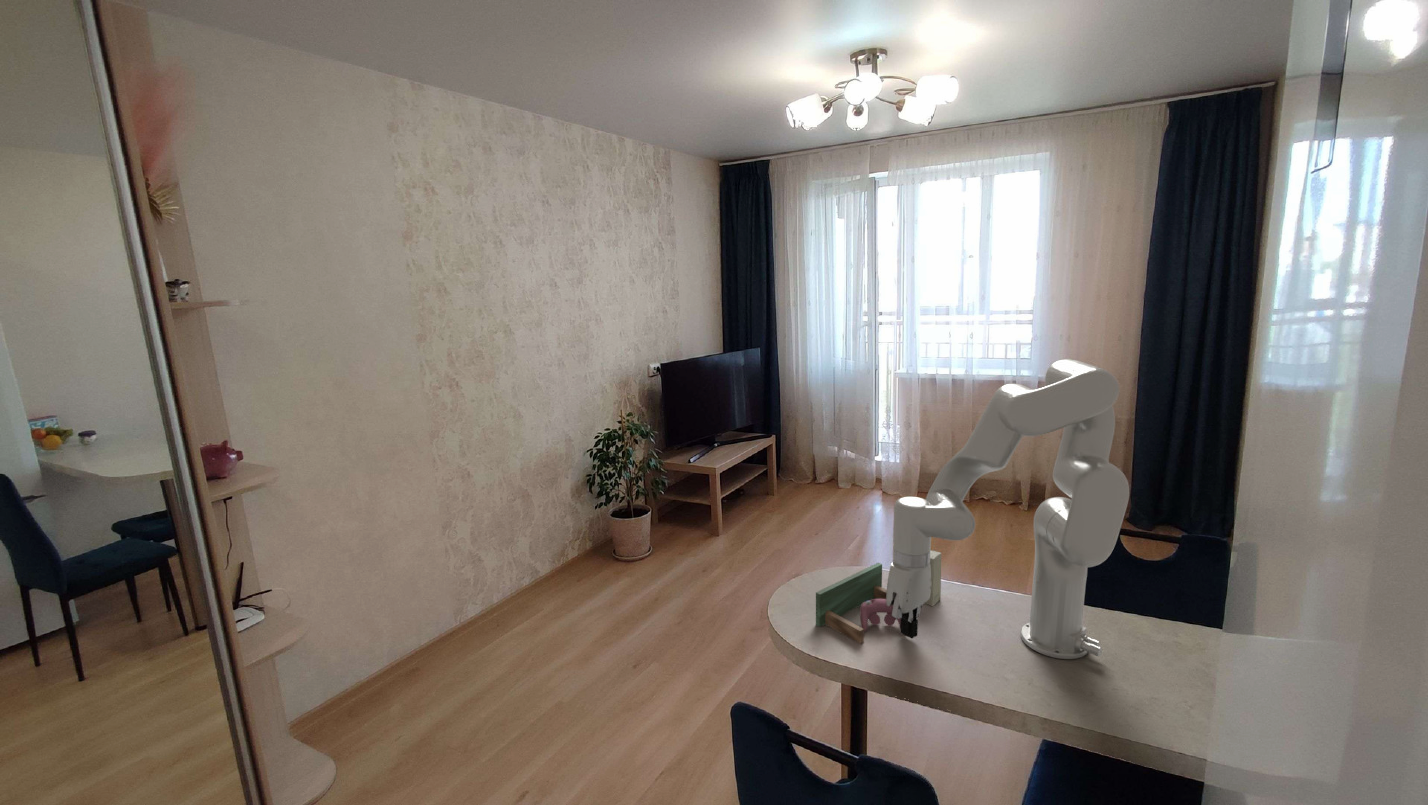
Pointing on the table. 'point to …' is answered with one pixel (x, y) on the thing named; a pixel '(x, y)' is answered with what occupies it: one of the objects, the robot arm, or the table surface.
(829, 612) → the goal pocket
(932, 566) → the skincare box
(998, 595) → the table surface
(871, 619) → the video game controller
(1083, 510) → the robot arm
